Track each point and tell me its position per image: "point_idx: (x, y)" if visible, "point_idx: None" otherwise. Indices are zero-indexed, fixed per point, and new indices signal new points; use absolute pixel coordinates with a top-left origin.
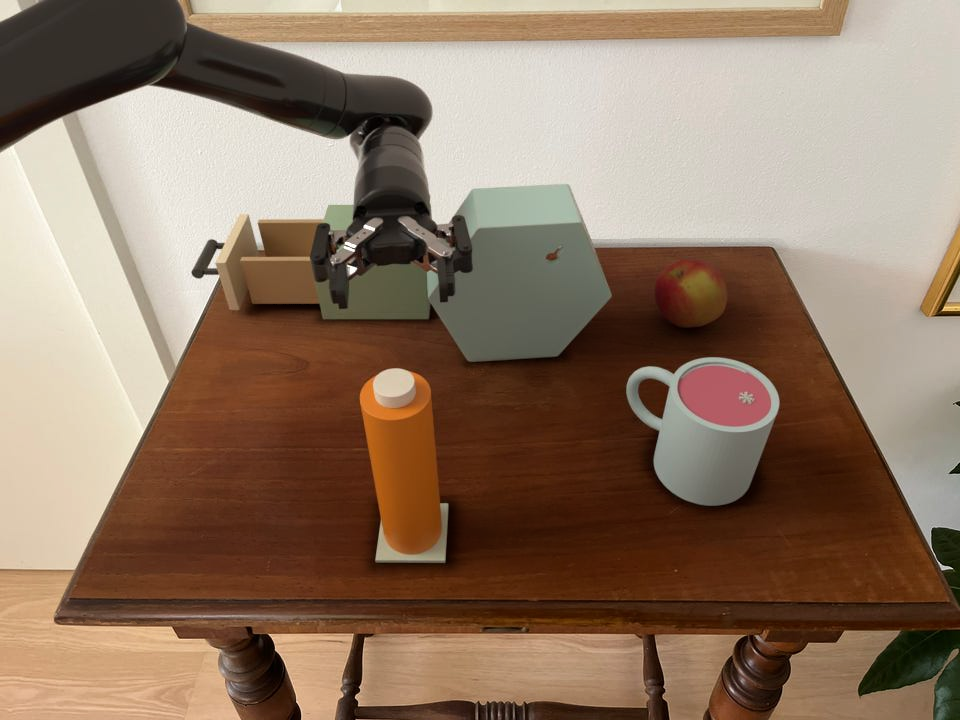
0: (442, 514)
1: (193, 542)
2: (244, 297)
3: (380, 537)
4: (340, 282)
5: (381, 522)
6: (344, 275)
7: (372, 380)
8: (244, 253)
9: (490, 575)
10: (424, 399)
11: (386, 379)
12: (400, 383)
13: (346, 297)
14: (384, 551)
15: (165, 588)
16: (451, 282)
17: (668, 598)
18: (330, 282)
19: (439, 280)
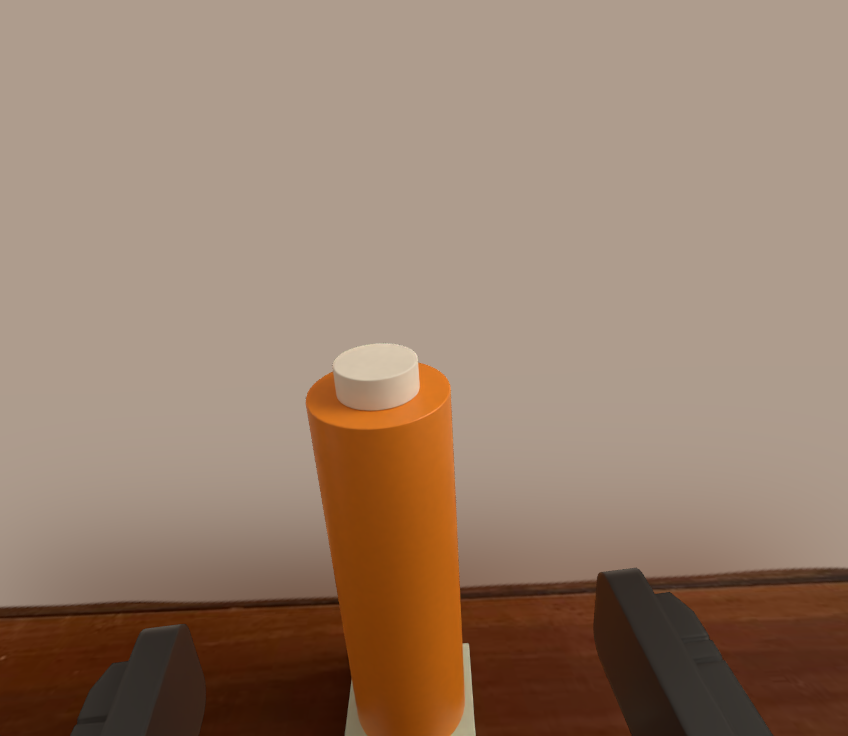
0: (354, 733)
1: (805, 670)
2: None
3: (467, 681)
4: (639, 601)
5: (471, 712)
6: (646, 647)
7: (430, 408)
8: None
9: (288, 637)
10: (320, 385)
11: (390, 363)
12: (361, 360)
13: (607, 636)
14: None
15: (778, 597)
16: (118, 663)
17: (48, 618)
18: (705, 641)
19: (172, 635)
